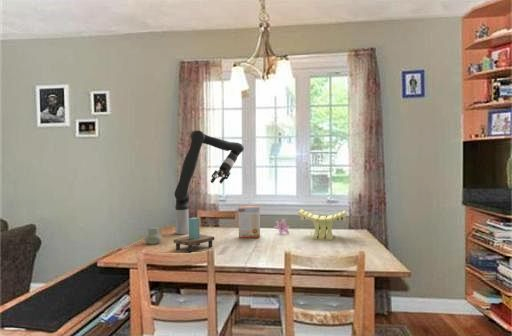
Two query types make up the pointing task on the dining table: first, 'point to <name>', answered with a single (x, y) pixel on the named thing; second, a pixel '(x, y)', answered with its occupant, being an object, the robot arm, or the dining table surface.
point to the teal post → (194, 228)
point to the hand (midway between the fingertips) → (215, 182)
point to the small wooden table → (193, 241)
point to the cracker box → (249, 221)
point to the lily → (282, 227)
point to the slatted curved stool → (322, 223)
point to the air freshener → (153, 236)
